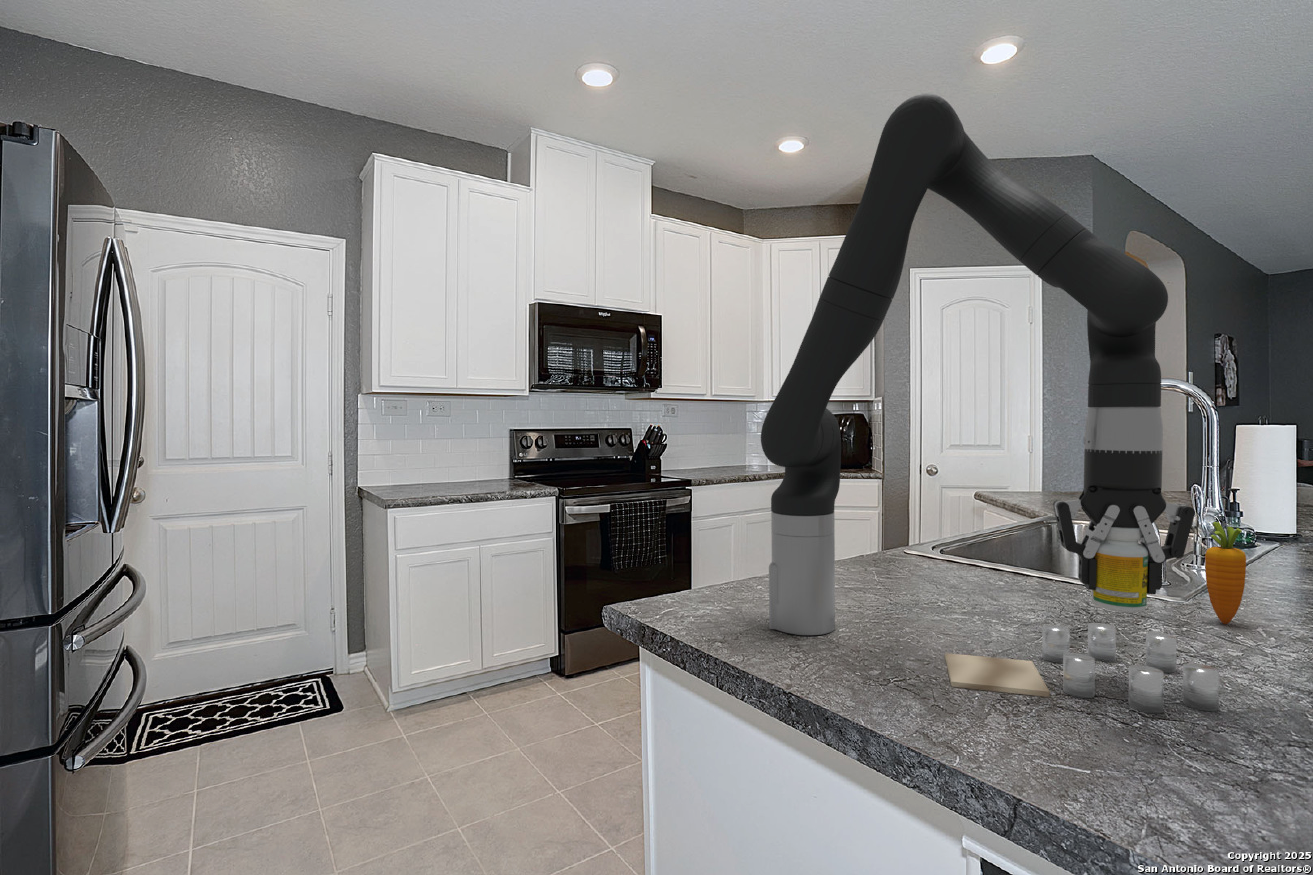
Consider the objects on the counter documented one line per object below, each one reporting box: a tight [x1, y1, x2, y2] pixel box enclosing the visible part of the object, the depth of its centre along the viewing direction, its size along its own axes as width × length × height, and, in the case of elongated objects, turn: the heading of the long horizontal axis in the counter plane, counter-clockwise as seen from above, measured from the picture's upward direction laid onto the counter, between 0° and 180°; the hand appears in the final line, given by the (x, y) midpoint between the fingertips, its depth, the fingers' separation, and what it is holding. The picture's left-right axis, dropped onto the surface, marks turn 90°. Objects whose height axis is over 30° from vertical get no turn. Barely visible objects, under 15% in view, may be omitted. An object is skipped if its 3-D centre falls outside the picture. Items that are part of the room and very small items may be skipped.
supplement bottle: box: [1091, 527, 1148, 614], centre depth 80 cm, size 5×5×10 cm
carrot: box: [1204, 521, 1247, 626], centre depth 100 cm, size 5×5×15 cm
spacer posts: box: [1041, 622, 1220, 714], centre depth 80 cm, size 14×19×4 cm
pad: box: [944, 652, 1051, 698], centre depth 81 cm, size 10×10×1 cm
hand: (1119, 589), depth 80 cm, fingers closed on supplement bottle, 5 cm apart
